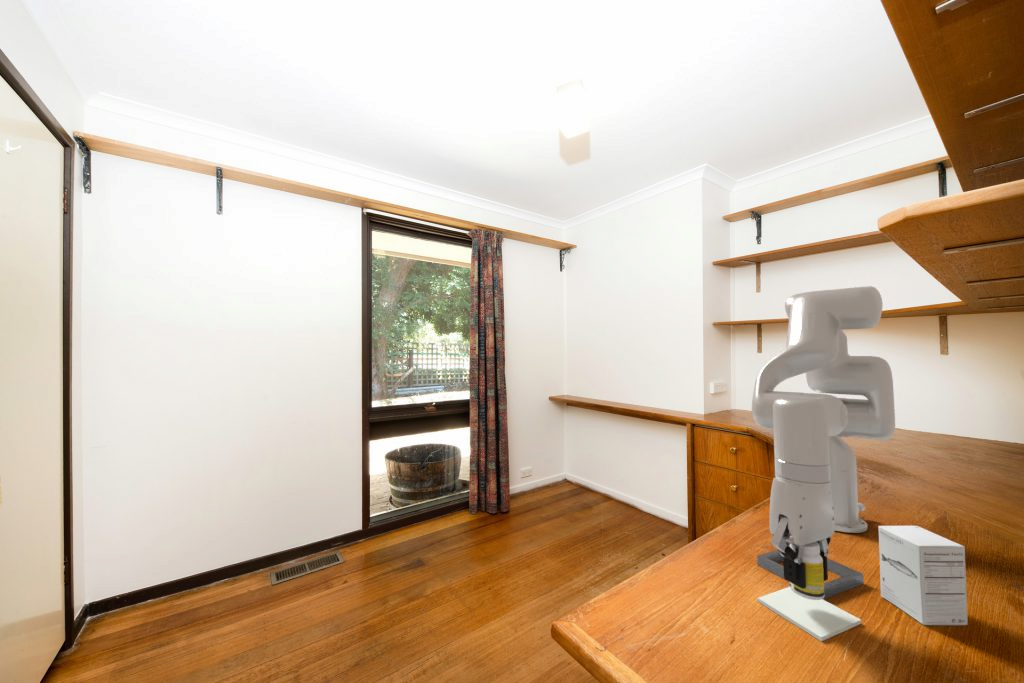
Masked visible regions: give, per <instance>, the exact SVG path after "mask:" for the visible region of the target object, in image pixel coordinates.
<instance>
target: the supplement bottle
mask: <svg viewBox="0 0 1024 683" xmlns="http://www.w3.org/2000/svg"><path fill="white" fill-rule="evenodd" d="M790 538H791V539H793V537H792V536H790ZM789 546H790V547H791V548H792V549H793V550H794V552H795V549H796V546H795V545H793V544H790V545H789ZM819 554H820V546H819V543H818V542H813V543H809V544H806V545H804V551H803V559H802V563H805V568H806V588H804V589H802V588H800V587H798V586H796V585H795V584H793V583H791V582H789V581H788V587H790V589H791V590H792V591H793V592H794V593H796V594H797V595H799V596H801V597H804V598H807V599H811V600H821V599H823V598H824V583H825V581H824V571H823V559H822V557H821V556H820V555H819ZM823 600H824V599H823Z"/></svg>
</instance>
